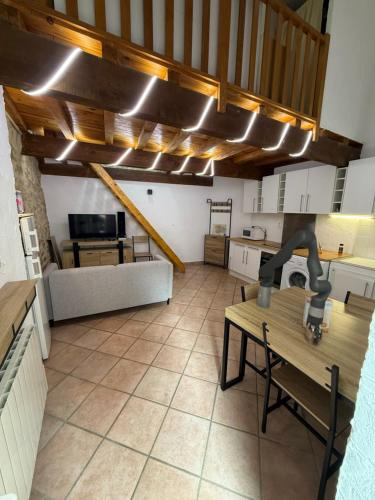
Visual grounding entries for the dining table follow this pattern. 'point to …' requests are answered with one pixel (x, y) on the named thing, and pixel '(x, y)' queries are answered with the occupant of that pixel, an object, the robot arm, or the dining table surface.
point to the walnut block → (310, 337)
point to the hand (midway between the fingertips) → (311, 339)
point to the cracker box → (327, 313)
